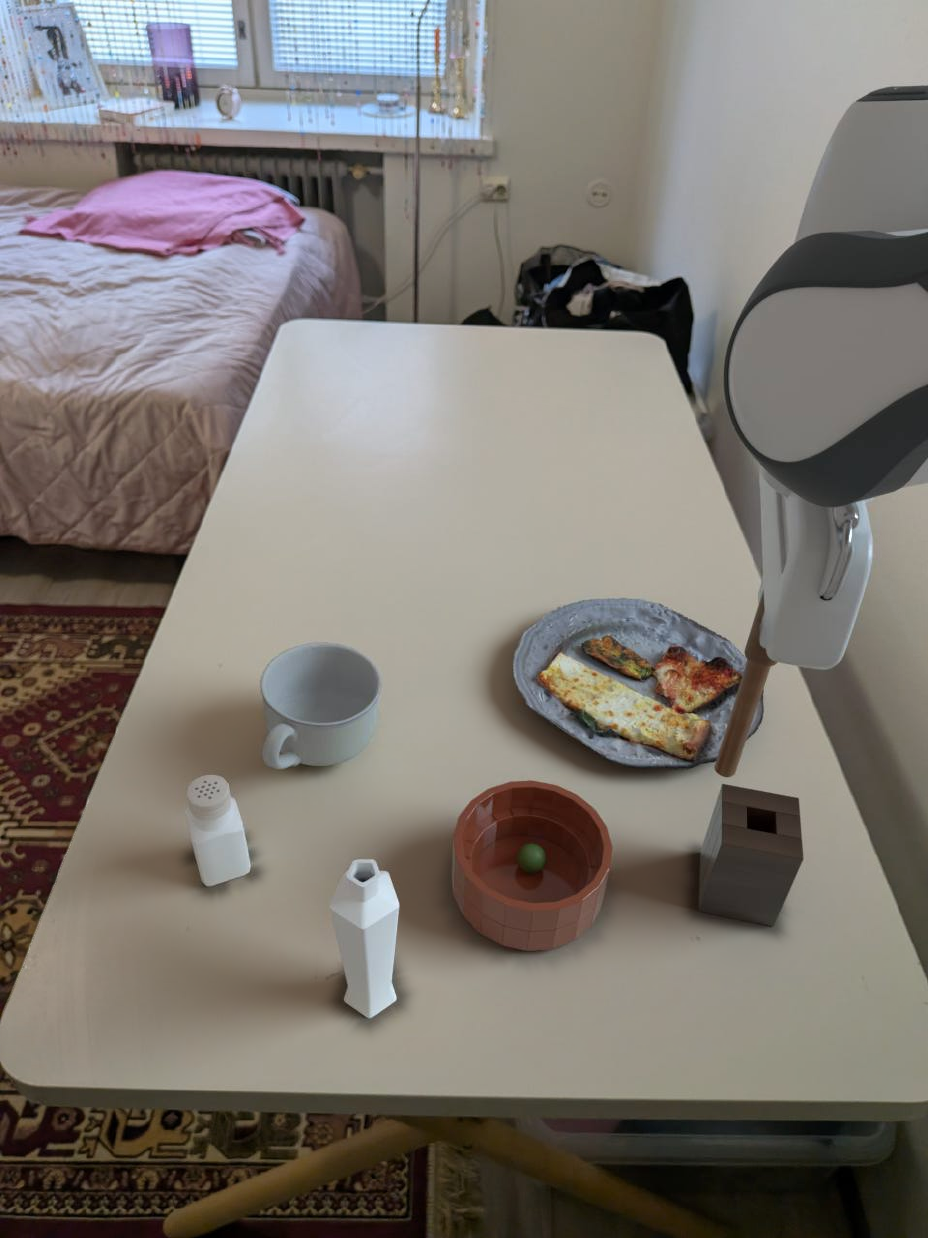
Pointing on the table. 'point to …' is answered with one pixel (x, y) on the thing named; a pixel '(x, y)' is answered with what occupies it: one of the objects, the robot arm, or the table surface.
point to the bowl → (513, 898)
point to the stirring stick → (745, 699)
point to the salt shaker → (216, 830)
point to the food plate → (632, 681)
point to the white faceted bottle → (366, 935)
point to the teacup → (318, 705)
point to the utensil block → (750, 854)
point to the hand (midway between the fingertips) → (771, 624)
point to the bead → (531, 858)
